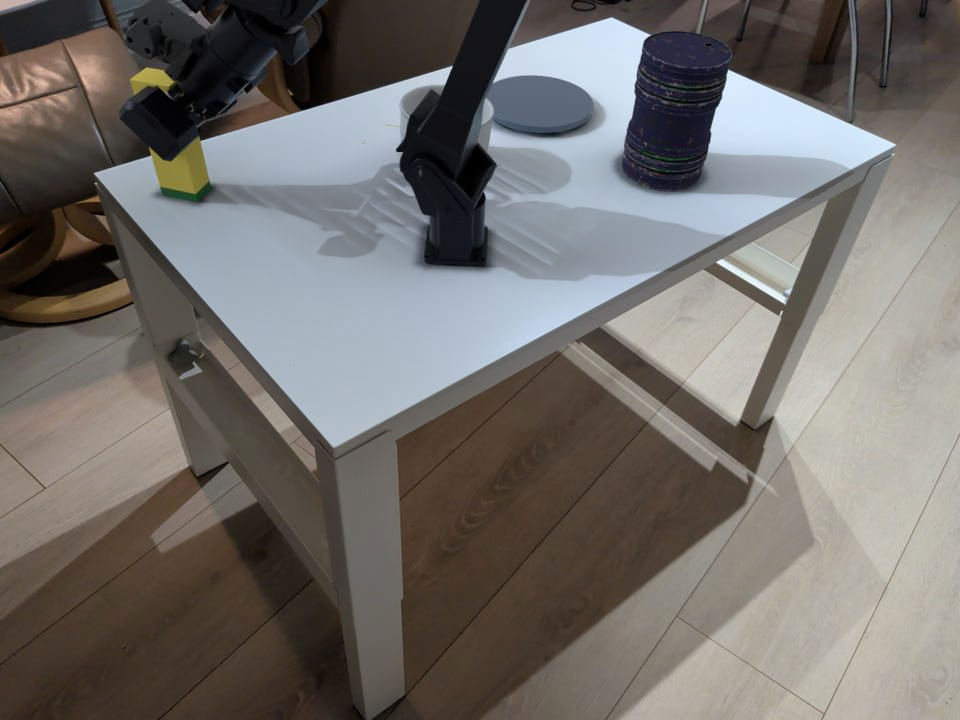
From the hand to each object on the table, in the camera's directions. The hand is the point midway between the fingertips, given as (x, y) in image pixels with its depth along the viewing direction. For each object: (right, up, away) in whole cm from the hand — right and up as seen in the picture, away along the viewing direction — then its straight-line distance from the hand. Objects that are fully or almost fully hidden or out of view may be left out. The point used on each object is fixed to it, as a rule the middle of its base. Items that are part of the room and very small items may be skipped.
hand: (161, 134), depth 86 cm
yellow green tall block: (+1, -5, +4) cm, 7 cm away
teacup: (+29, -2, +10) cm, 31 cm away
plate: (+42, +9, +22) cm, 48 cm away
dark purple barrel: (+56, -1, +12) cm, 58 cm away
